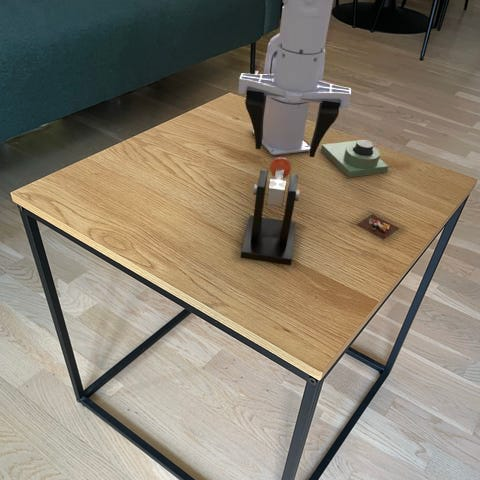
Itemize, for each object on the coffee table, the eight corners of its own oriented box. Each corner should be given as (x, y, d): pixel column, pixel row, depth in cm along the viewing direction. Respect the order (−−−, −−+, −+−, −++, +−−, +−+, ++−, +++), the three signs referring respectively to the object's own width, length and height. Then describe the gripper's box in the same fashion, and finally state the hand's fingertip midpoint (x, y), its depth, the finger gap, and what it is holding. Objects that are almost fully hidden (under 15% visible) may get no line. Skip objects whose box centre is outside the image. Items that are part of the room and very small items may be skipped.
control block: (320, 150, 92) (323, 135, 90) (357, 146, 94) (361, 130, 92) (348, 177, 86) (352, 161, 84) (386, 172, 88) (391, 156, 86)
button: (350, 149, 87) (353, 140, 86) (365, 148, 88) (367, 138, 87) (359, 157, 86) (362, 148, 84) (374, 156, 86) (377, 146, 85)
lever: (269, 171, 73) (272, 152, 72) (289, 174, 73) (293, 155, 71) (262, 206, 65) (265, 185, 63) (285, 209, 65) (288, 188, 63)
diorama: (382, 235, 74) (386, 224, 73) (361, 224, 76) (365, 212, 74) (392, 228, 76) (396, 216, 74) (372, 217, 78) (375, 206, 76)
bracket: (248, 220, 74) (255, 160, 67) (295, 227, 74) (306, 167, 67) (240, 257, 68) (246, 194, 61) (291, 265, 68) (303, 202, 61)
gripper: (238, 49, 59) (230, 155, 68) (360, 65, 58) (335, 170, 68) (246, 31, 64) (238, 133, 73) (359, 46, 63) (335, 147, 73)
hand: (285, 149), depth 71 cm, fingers open, 7 cm apart
